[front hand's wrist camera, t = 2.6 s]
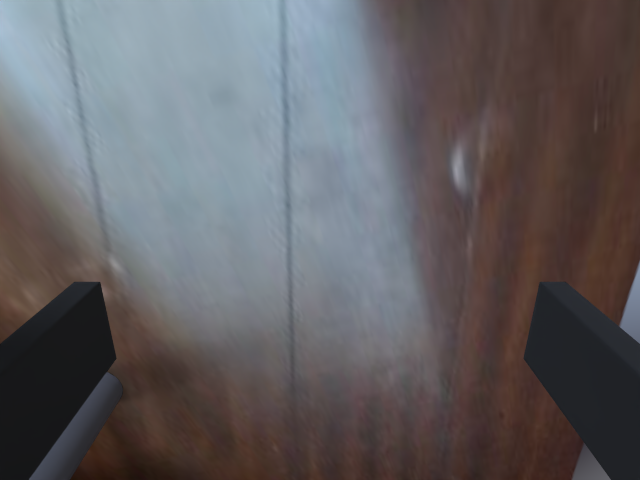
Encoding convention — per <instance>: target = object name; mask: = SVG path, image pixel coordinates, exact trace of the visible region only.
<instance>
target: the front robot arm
mask: <svg viewBox="0 0 640 480" xmlns="http://www.w3.org/2000/svg"><path fill="white" fill-rule="evenodd" d="M115 360H116V354H115V350H114V345H113V340H112V335H111V331H110V326H109V321H108V317H107V312H106V307H105V302H104V298H103V293H102V288H101V284H100V282H74V283H73V284H71V285H70V286H69V287H68V288H67V289H65V290H64V291H63V292H62V293H61V294H59V295H58V296H57V297H56V298H55V299H53V300H52V301H51V302H50V303H49V304H47V305H46V306H45V307H44V308H43V309H41V310H40V311H39V312H38V313H37V314H36V315H34V316H33V317H32V318H31V319H30V320H28V321H27V322H26V323H25V324H24V325H22V326H21V327H20V328H19V329H18V330H16V331H15V332H14V333H13V334H12V335H10V336H9V337H8V338H7V339H6V340H4V341H3V342H2V343H1V344H0V480H29V479H30V477H31V476H32V475H33V473H34V472H35V471H36V469H37V468H38V466H39V465H40V464H41V462H42V461H43V459H44V458H45V457H46V455H47V454H48V453H49V451H50V450H51V448H52V447H53V446H54V444H55V443H56V441H57V440H58V439H59V437H60V436H61V435H62V433H63V432H64V430H65V429H66V428H67V426H68V425H69V423H70V422H71V421H72V419H73V418H74V417H75V415H76V414H77V412H78V411H79V410H80V408H81V407H82V405H83V404H84V403H85V401H86V400H87V399H88V397H89V396H90V394H91V393H92V392H93V390H94V389H95V387H96V386H97V385H98V383H99V382H100V381H101V379H102V378H103V376H104V375H105V374H106V372H107V371H108V369H109V368H110V367H111V365H112V364H113V363H114V361H115ZM524 360H525V361H526V363H527V364H528V365H529V367H530V368H531V369H532V371H533V372H534V374H535V375H536V376H537V378H538V379H539V381H540V382H541V383H542V385H543V386H544V387H545V389H546V390H547V392H548V393H549V394H550V396H551V397H552V399H553V400H554V401H555V403H556V404H557V405H558V407H559V408H560V410H561V411H562V412H563V414H564V415H565V417H566V418H567V419H568V421H569V422H570V423H571V425H572V426H573V428H574V429H575V430H576V432H577V433H578V435H579V436H580V437H581V439H582V440H583V441H584V443H585V444H586V446H587V447H588V448H589V450H590V451H591V453H592V454H593V455H594V457H595V458H596V459H597V461H598V462H599V464H600V465H601V466H602V468H603V469H604V470H605V472H606V473H607V475H608V476H609V477H610V479H611V480H640V344H639V343H638V342H637V341H636V340H634V339H633V338H632V337H631V336H629V335H628V334H627V333H626V332H625V331H624V330H622V329H621V328H620V327H619V326H618V325H616V324H615V323H614V322H613V321H612V320H610V319H609V318H608V317H607V316H606V315H604V314H603V313H602V312H601V311H600V310H599V309H597V308H596V307H595V306H594V305H593V304H591V303H590V302H589V301H588V300H587V299H585V298H584V297H583V296H582V295H581V294H579V293H578V292H577V291H576V290H575V289H573V288H572V287H571V286H570V285H569V284H567V283H566V282H540V284H539V288H538V293H537V298H536V302H535V307H534V312H533V317H532V321H531V326H530V331H529V335H528V340H527V345H526V350H525V354H524Z"/></svg>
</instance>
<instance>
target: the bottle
mask: <svg viewBox="0 0 640 480" xmlns="http://www.w3.org/2000/svg"><path fill="white" fill-rule="evenodd" d="M122 394H123V388H122V385H121V383H120V381H119V380H118V379H117V378H116V377H115V376H113V375H112V374H110V373H108V372H106V374H105V375H104V376H103V378H102V379H101V381H100V382H99V383H98V385H97V386H96V387H95V389H94V390H93V392H92V393H91V394H90V396H89V397H88V399H87V400H86V401H85V403H84V404H83V405H82V407H81V408H80V410H79V411H78V412H77V414H76V415H75V417H74V418H73V419H72V421H71V422H70V423H69V425H68V426H67V428H66V429H65V430H64V432H63V433H62V435H61V436H60V437H59V439H58V440H57V441H56V443H55V444H54V446H53V447H52V448H51V450H50V451H49V453H48V454H47V455H46V457H45V458H44V459H43V461H42V462H41V464H40V465H39V466H38V468H37V469H36V471H35V472H34V473H33V475H32V476H31V477H30V479H29V480H70V479H71V477H72V476H73V474H74V472H75V471H76V469H77V467H78V466H79V464H80V463H81V461H82V459H83V458H84V456H85V455H86V453H87V451H88V450H89V448H90V447H91V445H92V443H93V442H94V440H95V438H96V437H97V435H98V434H99V432H100V430H101V429H102V427H103V426H104V424H105V422H106V421H107V419H108V417H109V416H110V414H111V413H112V411H113V409H114V408H115V406H116V405H117V403H118V401H119V400H120V398H121V397H122Z"/></svg>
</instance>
